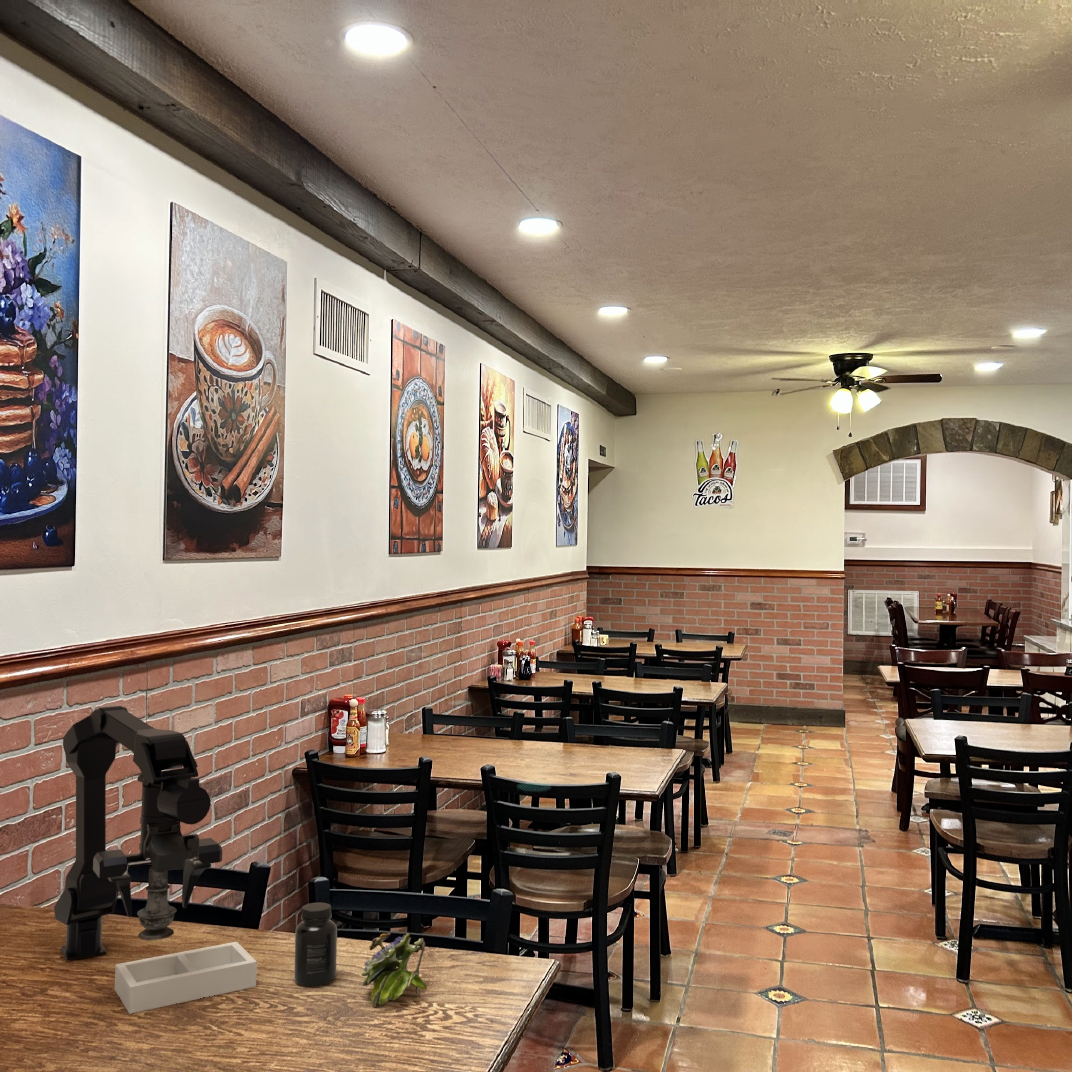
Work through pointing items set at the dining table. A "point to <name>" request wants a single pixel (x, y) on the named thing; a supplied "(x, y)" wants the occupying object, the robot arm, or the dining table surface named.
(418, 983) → the passion flower
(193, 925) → the dining table surface
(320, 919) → the supplement bottle
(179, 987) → the condiment caddy
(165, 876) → the grey stone turned post
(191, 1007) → the dining table surface
